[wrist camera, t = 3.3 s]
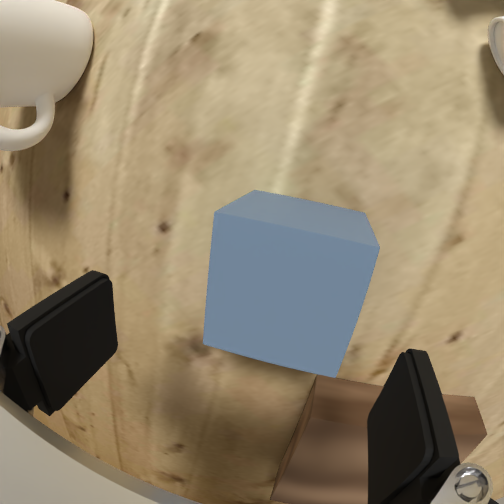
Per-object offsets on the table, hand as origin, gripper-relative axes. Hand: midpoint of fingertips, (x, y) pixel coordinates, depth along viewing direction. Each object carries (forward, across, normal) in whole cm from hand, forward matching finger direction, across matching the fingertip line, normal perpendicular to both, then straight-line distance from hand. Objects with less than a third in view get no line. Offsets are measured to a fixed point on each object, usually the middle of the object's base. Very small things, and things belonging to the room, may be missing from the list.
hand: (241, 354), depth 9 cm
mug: (+10, +18, -10) cm, 23 cm away
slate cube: (+9, -1, 0) cm, 9 cm away
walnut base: (+9, -10, +14) cm, 20 cm away
